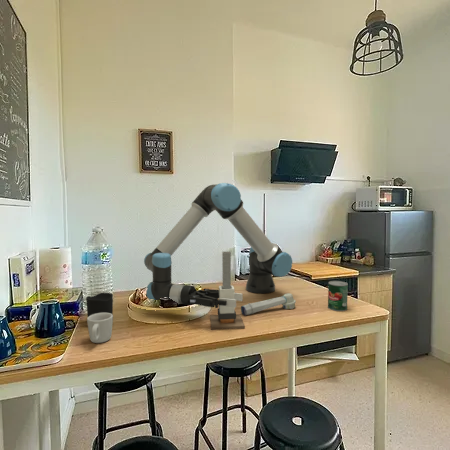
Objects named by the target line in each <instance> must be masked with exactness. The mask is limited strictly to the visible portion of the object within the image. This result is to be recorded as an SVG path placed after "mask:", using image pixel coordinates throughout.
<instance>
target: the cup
mask: <svg viewBox="0 0 450 450" xmlns="http://www.w3.org/2000/svg"><path fill="white" fill-rule="evenodd" d="M113 321H114V314H113V315H112V314H111V313H96V314H93V315H90V316H89V317H88V316H87V318H86V323H87V329H88V334H89V335H88V336H89V339H90V341H91V342H92V343H94V344H95V343H96V344H102V343H106V342H108V341H109V340H110V339H111V338H112V332H113Z"/></svg>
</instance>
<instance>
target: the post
mask: <svg viewBox="0 0 450 450" xmlns="http://www.w3.org/2000/svg"><path fill="white" fill-rule="evenodd" d="M221 253H222V254H221V255H222V264H221V265H222V266H221V267H222V271H221V272H222V276H221V277H222V286H223V289H231V285H232V284H231V283H232V282H231V281H232V280H231V279H232V278H231V276H232V275H231V274H232V273H231V271H232V270H231V267H232V264H231V259H232V258H231V251H222V252H221ZM220 321H221V323H234V319H220Z"/></svg>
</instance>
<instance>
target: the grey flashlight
mask: <svg viewBox="0 0 450 450" xmlns="http://www.w3.org/2000/svg"><path fill="white" fill-rule="evenodd" d="M281 305H282V309H284V310H289V309H290V310H293V309H294V308H296V299H294V296H293V294H292V293H289V292H288V293H284V294H283V295H282V296H279V297H278V296H277V297H273V298H270V299H266V300H264V299H263V300H261V301H255V302H251V303H250V302H248V303H247V304H244V305H242V306H241V307H240V312H241V314H242V315H243V316H244V317H245V316H248V315H254V314H255V313H259V312H262V311H264V310H268V309H271V308H274V307H277V306H281Z"/></svg>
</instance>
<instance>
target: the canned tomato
mask: <svg viewBox="0 0 450 450" xmlns="http://www.w3.org/2000/svg"><path fill="white" fill-rule="evenodd" d="M348 288H349V284H348V282H345V281H341V280H330V281H328V288H327V289H328V290H327V291H328V293H327V309H329V310H330V311H334V312H345V311H347V310H348V295H349V294H348Z"/></svg>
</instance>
